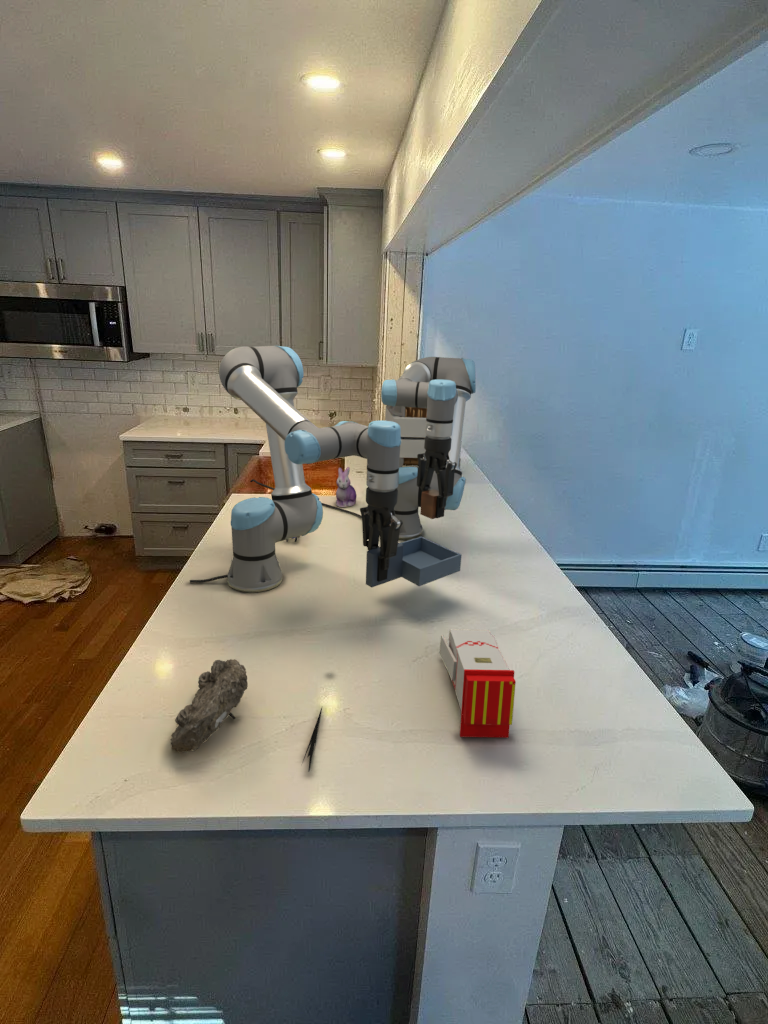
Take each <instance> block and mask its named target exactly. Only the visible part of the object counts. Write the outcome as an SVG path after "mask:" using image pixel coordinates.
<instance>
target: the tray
mask: <svg viewBox="0 0 768 1024" xmlns="http://www.w3.org/2000/svg"><path fill="white" fill-rule="evenodd" d="M379 555H380V546H379V548H376V549H372V550H369V551H368V550H366V561H365V562H366V566H365V568H366V569H365V585H366V586H368V587H370V588H375V587H378V586H381V585H383V584H386V583H389V582H392V581H394V580H397V579H401V578H402V579H404V580H407V581H408V582H410V583H411V584H414V585H416V586H417V587H421V586H424V585H427V584H429V583H432V582H434V581H437V580H440V579H442V578H445V577H448V576H450V575H451V576H452V575H454V574H457V573H459V572H460V571H461V567H462V554H461V553H459V552H457V551H455V550H453V549H450V548H448V547H446V546H445V545H441V544H440V543H437V542H435V541H433V540H430V539H428V538H426V537H424V536H422V535H421V536H420V537H418V538H414V539H411V540H404V541H401V542H398V546H397V553H396V556H393V557H390V559H389V569H388V574H387V579H385V580H383V581H380V582H378V581H377V570H378V556H379Z"/></svg>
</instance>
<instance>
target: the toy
mask: <svg viewBox="0 0 768 1024" xmlns="http://www.w3.org/2000/svg"><path fill="white" fill-rule="evenodd" d="M438 654H439V656H440V658H441V660H442V662H443V665H444V666H445V668H446V671H447V673H448V675H449V677H450V681H451V683H452V685H453V689H454V690H455V695H456V698H457V702H458V705H459V708H460V726H459V737H460V738H509V737H510V728H511V727H510V726H512V725H513V717H514V706H515V705H514V704H515V693H516V684H517V683H516V679H515V670H514V669H510V667H509V666H508V663H507V662H506V660H505V658H504V655H503V654H502V652H501V650H500V648H499V644H498V642H497V638H496V635H495V634H492V632H491V631H490V629H467V628H466V629H465V628H463V629H461V628H460V629H459V628H450V629H449V631H448V641H447V639H446V638H445V636H444V634H443V635H442V634H441V635H440V641H439V651H438Z"/></svg>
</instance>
